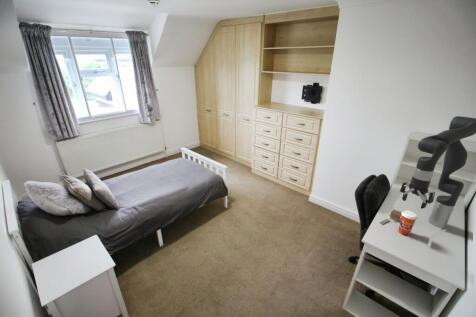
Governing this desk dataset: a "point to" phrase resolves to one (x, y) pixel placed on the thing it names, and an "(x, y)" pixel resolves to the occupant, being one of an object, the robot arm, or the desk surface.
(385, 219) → the slate strip
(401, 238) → the desk surface
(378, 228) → the desk surface
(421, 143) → the robot arm
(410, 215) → the paper cup
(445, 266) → the desk surface
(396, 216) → the walnut block
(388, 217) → the cork coaster
